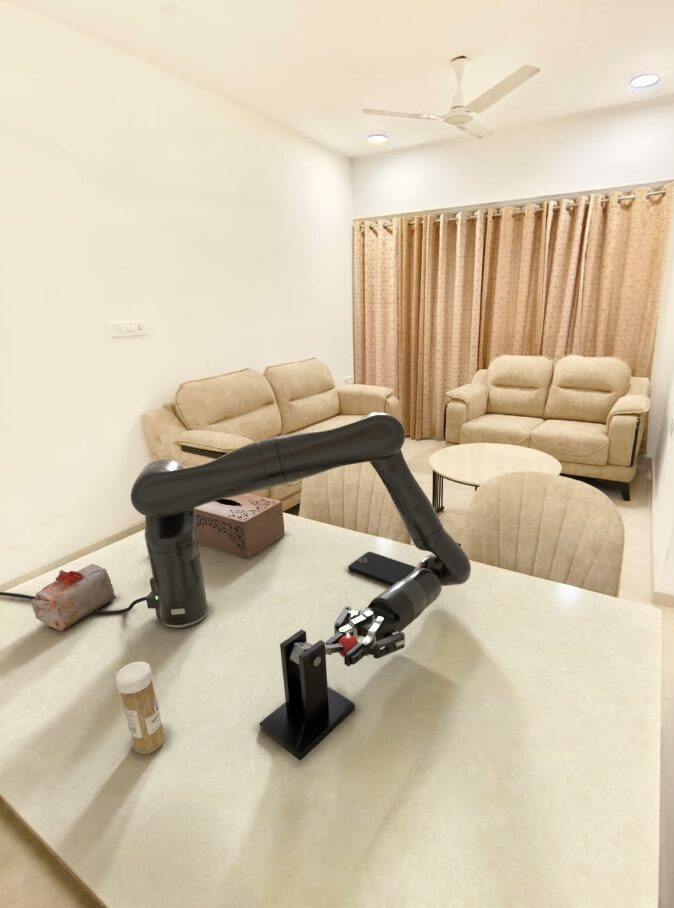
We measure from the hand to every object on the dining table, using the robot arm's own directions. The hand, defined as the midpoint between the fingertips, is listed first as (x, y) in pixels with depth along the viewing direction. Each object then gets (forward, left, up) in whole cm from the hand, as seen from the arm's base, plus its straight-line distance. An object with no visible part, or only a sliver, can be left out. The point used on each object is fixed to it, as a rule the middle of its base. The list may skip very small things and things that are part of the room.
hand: (336, 655), depth 81 cm
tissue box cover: (-49, +45, -8) cm, 67 cm away
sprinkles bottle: (-23, -17, -8) cm, 30 cm away
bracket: (-2, -6, -8) cm, 11 cm away
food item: (-60, +5, -8) cm, 61 cm away
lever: (-1, -3, +1) cm, 3 cm away
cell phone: (-2, +39, -8) cm, 39 cm away
